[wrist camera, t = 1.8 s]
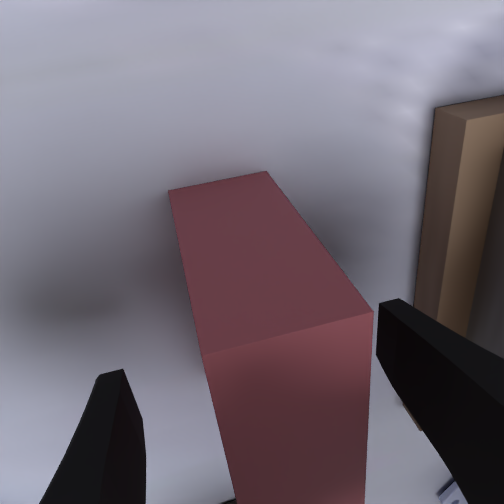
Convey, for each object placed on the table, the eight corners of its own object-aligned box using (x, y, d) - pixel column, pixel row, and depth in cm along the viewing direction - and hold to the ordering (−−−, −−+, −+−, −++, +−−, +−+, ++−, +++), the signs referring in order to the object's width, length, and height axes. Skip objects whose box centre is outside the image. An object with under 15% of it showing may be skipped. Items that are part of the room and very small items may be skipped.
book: (265, 170, 13) (373, 311, 8) (284, 357, 18) (362, 540, 12) (167, 190, 13) (201, 356, 7) (211, 376, 17) (254, 576, 11)
